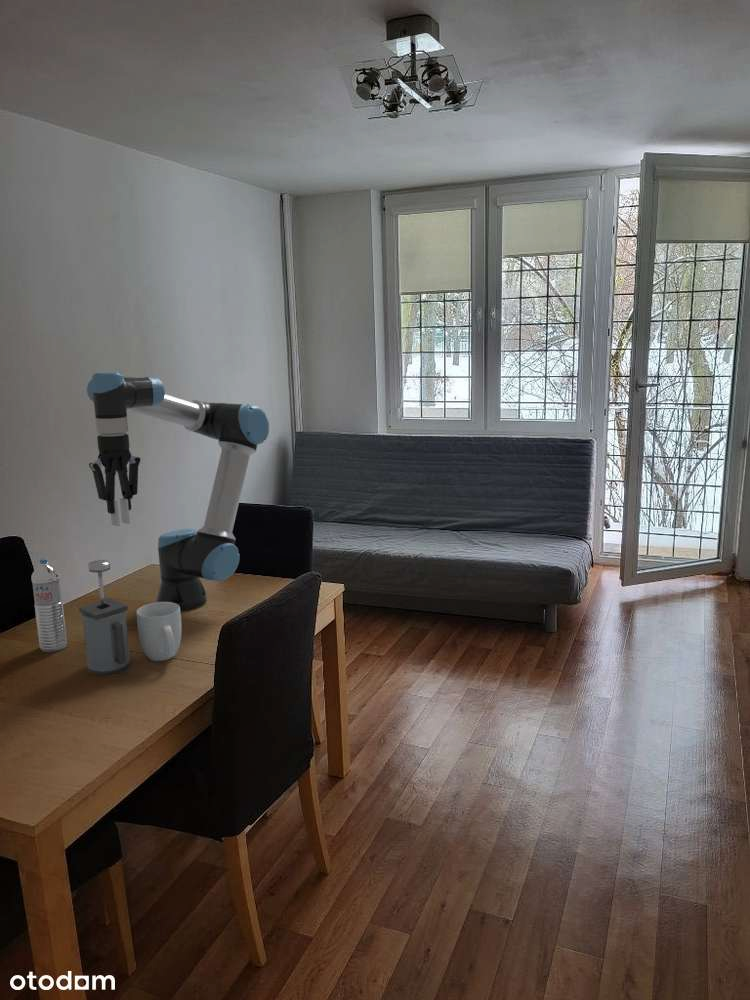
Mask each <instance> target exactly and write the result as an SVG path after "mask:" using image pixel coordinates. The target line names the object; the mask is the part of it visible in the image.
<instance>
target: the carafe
mask: <svg viewBox="0 0 750 1000" xmlns="http://www.w3.org/2000/svg"><path fill="white" fill-rule="evenodd" d="M128 607H129V606H128V605H126V604H124V603H123V602H120V601H117V600H115V599H114V598H111V597H109V598H105V608H104V609H101V600H99V601H95V602H92V603H89V604H85V605H81V606H79V607H78V609H79V610H78V611H79V613H81V614H82V615H81V619H82V620H81V621H82V627H83V629H82V630H83V637H84V639H83V640H84V645H85V646H84V647H85V655H86V657H85V658H86V665H87V669H88V670H87V671H88V672H89V674H92V675H95V676H96V675H97V676H108V675H113V674H114V675H115V674H116V673H117V674H119V673H120V672H123V671H124V670H126V669H128V667H129V666H130V664H131V663H130V652H129V651H130V649H129V639H128V629H127V628H128V627H127V620H126V619H127V618H126V617H127V615H126V612H127V611H129V609H128Z"/></svg>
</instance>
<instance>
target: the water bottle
mask: <svg viewBox="0 0 750 1000" xmlns="http://www.w3.org/2000/svg"><path fill="white" fill-rule="evenodd" d="M48 561H49V560H48V558H46V557H45V558H40V559H39V564H40V565H39V566H37V567H36V568H35V570H33V572H32V574H31V583H32V590H33V591H32V592H33V598H34V599H33V600H34V610H35V611H34V612H35V619H36V627H37V635H38V643H39V644H38V645H39V649H40V650H41V651H42V652H43V653H53V652H54V653H55V652H59V651H61V650H63V649H64V648H66V647H67V645H68V644H67V643H68V641H67V633H66V631H67V629H66V623H65V613H64V605H63V599H62V598H63V597H62V591H61V581H60V571H59V570H57V569H56V568H55V567H54V566H52V565H51V564H48V563H49V562H48Z"/></svg>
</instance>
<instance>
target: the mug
mask: <svg viewBox="0 0 750 1000" xmlns="http://www.w3.org/2000/svg"><path fill="white" fill-rule="evenodd" d="M135 613H136V623H137V633H138V638H139V641H140V645H141V647H142V650H143V652H144V654H145V655H146V656H147V657H148V659H149V660H151V661H154V662H159V661H160V662H162V661H167V660H168V661H169V660H170V659H172V658H174V656H175V655H176V654H177V653H178V650H179V648H180V644H181V639H182V616H181V615H182V614H181V611H180V606H179V605H178V604H175V603H172V602H157V601H156V602H151V603H148V604H145V605H142V606H140V607H139V608H138V609H137V610H136V611H135Z"/></svg>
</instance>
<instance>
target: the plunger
mask: <svg viewBox="0 0 750 1000" xmlns="http://www.w3.org/2000/svg"><path fill="white" fill-rule="evenodd" d="M87 565H88V571H89V572H90V573H97V579H98V589H99V599H100V600H99V601H101V609H104V608H105V599H106V598H105V591H104V590H105V587H104V579H103V573H104V572H107V571H109V570H110V569H111V561H110V560H108V559H97V560H92V561H90V562H88V563H87Z"/></svg>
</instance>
